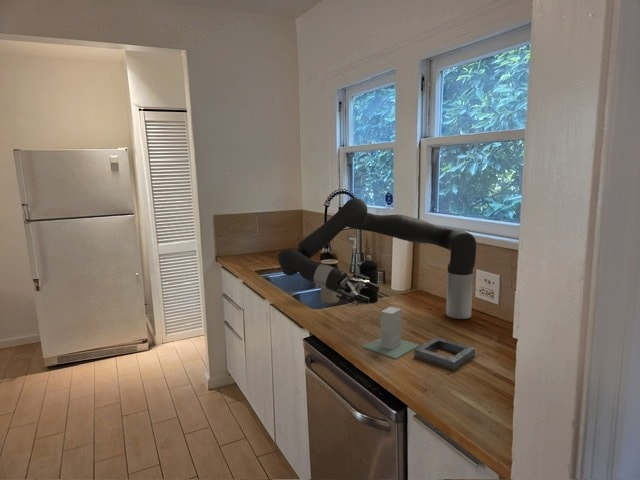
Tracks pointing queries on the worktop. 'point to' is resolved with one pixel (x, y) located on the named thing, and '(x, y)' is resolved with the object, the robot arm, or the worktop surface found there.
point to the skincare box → (390, 328)
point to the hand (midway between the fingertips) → (373, 295)
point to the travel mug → (327, 294)
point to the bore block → (452, 363)
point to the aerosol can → (371, 271)
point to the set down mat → (395, 353)
